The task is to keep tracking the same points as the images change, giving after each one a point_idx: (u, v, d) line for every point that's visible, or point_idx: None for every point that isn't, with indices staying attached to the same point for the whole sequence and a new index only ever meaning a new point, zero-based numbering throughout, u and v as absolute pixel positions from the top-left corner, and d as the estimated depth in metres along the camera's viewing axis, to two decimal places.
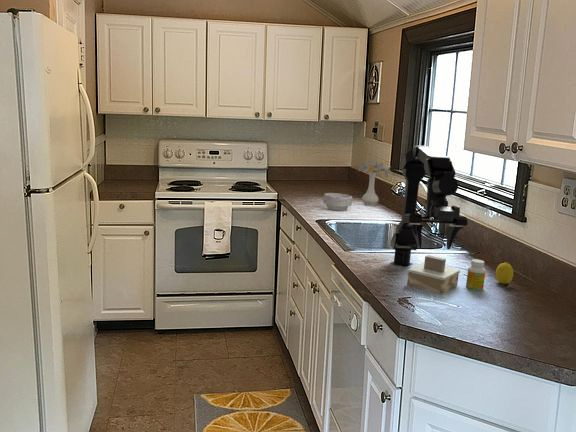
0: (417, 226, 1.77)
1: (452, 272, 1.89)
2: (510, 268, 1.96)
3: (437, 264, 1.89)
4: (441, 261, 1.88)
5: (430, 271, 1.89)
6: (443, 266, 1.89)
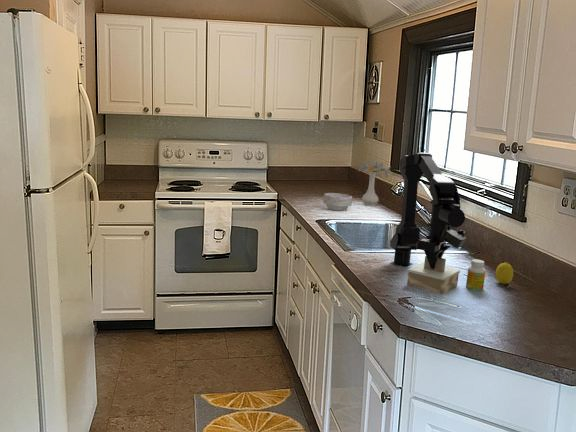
0: (439, 252, 1.85)
1: (452, 272, 1.89)
2: (510, 268, 1.96)
3: (437, 264, 1.89)
4: (441, 261, 1.88)
5: (430, 271, 1.89)
6: (443, 266, 1.89)
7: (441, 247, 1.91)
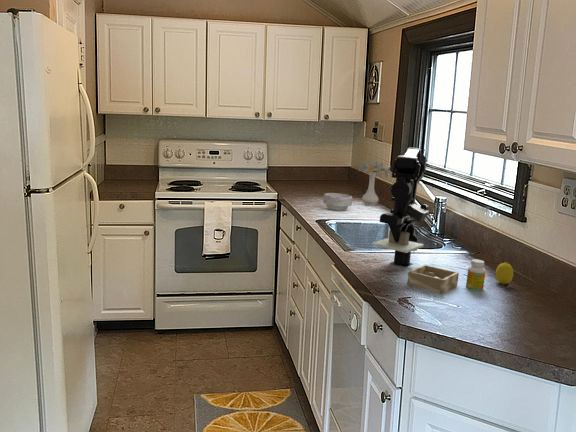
0: (402, 225, 1.91)
1: (415, 245, 1.95)
2: (510, 268, 1.96)
3: (401, 238, 1.94)
4: (405, 235, 1.94)
5: (394, 244, 1.94)
6: (407, 240, 1.95)
7: (405, 221, 1.96)
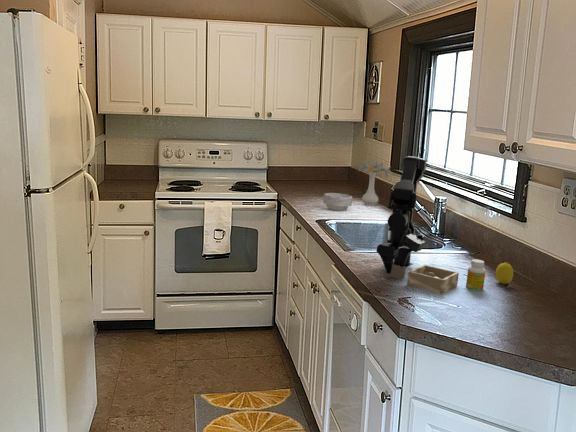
0: (394, 257, 1.91)
1: None
2: (510, 268, 1.96)
3: (397, 272, 1.97)
4: (401, 270, 1.96)
5: None
6: (403, 274, 1.97)
7: (406, 249, 2.01)
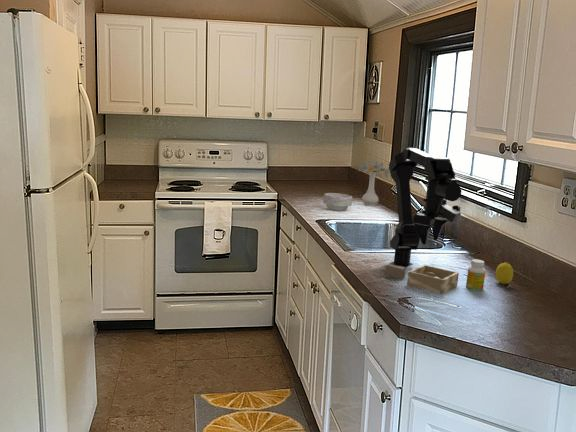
0: (430, 227, 1.89)
1: None
2: (510, 268, 1.96)
3: (397, 272, 1.97)
4: (401, 270, 1.96)
5: None
6: (403, 274, 1.97)
7: (440, 221, 2.00)
